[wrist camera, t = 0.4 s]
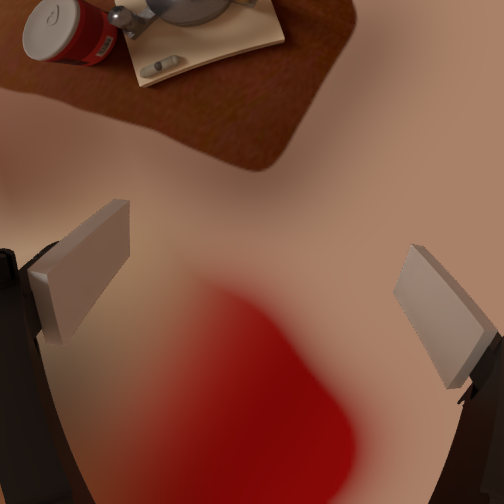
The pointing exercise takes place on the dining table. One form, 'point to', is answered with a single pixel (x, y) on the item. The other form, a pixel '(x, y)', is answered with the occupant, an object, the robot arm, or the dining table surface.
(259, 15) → the stand
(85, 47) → the canned food
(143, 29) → the cam capstan
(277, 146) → the dining table surface
